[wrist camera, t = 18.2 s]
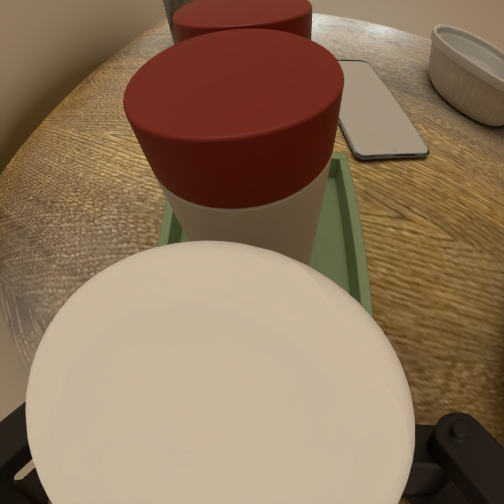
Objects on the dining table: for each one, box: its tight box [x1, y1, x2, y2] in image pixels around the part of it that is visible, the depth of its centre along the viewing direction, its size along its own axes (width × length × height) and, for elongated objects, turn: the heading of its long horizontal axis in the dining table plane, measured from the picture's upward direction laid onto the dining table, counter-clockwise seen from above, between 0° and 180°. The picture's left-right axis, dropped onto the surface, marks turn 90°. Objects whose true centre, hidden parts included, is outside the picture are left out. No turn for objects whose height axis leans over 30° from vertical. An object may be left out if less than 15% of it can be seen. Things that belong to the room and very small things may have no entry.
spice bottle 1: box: [173, 0, 312, 43], centre depth 13 cm, size 5×5×13 cm
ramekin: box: [429, 25, 504, 126], centre depth 22 cm, size 13×13×7 cm
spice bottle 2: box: [123, 29, 344, 265], centre depth 11 cm, size 5×5×13 cm
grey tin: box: [163, 0, 195, 45], centre depth 28 cm, size 4×4×10 cm
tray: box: [158, 152, 373, 318], centre depth 16 cm, size 18×11×3 cm, turn 179°
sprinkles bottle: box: [25, 241, 415, 504], centre depth 8 cm, size 5×5×13 cm
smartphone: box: [337, 60, 430, 160], centre depth 24 cm, size 7×1×15 cm
